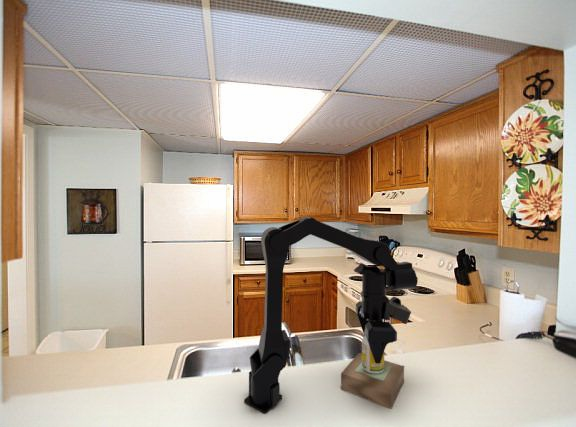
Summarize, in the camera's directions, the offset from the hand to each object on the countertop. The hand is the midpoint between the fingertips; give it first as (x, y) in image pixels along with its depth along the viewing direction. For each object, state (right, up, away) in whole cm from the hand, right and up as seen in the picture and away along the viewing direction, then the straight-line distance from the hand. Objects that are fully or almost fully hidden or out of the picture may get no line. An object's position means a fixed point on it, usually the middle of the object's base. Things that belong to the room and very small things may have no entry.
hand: (373, 353), depth 71 cm
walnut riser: (0, -8, 0) cm, 8 cm away
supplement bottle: (0, -4, 0) cm, 4 cm away
